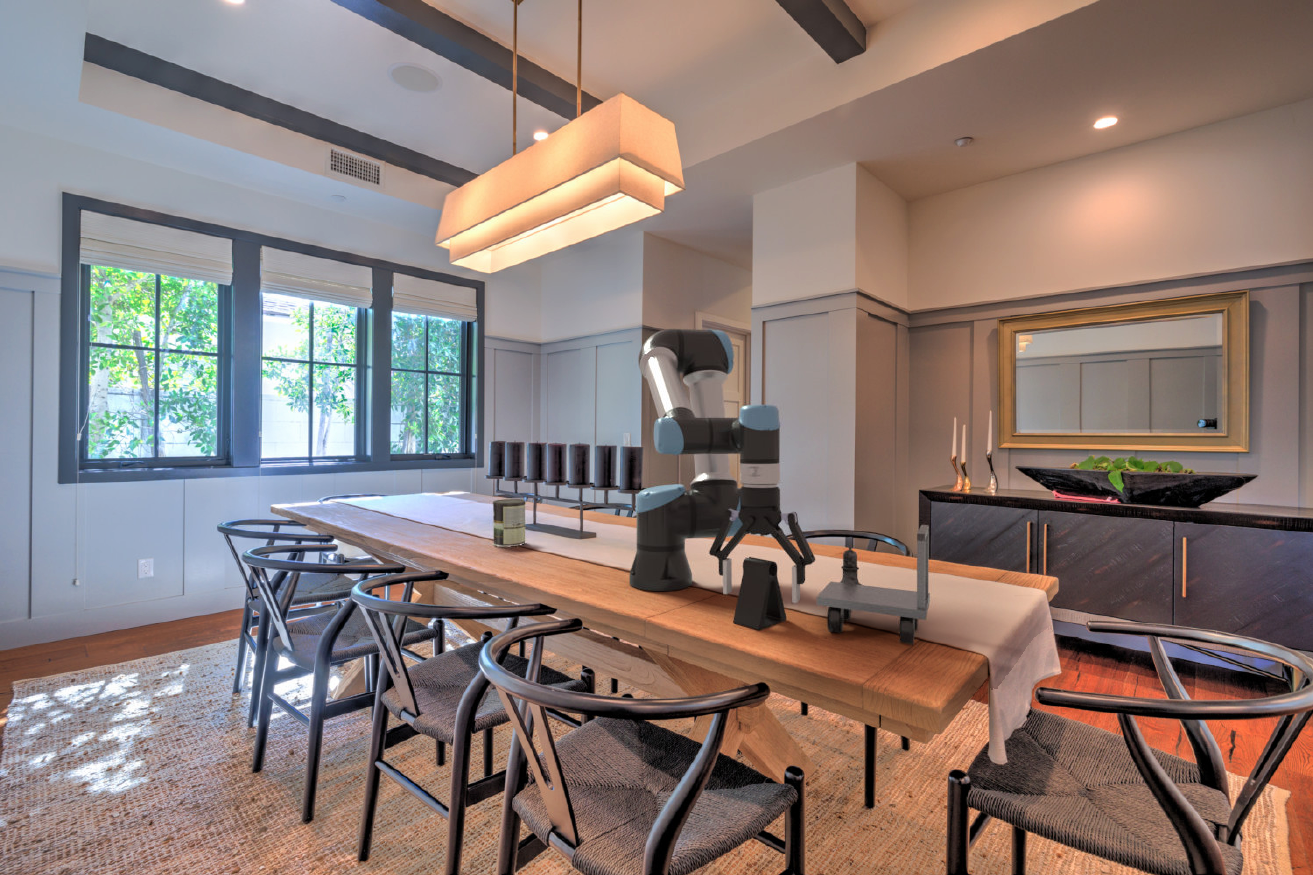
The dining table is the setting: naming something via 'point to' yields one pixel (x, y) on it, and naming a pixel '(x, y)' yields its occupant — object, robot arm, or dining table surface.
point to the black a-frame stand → (759, 596)
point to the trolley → (882, 597)
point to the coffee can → (509, 522)
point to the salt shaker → (850, 567)
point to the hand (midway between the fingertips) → (760, 596)
